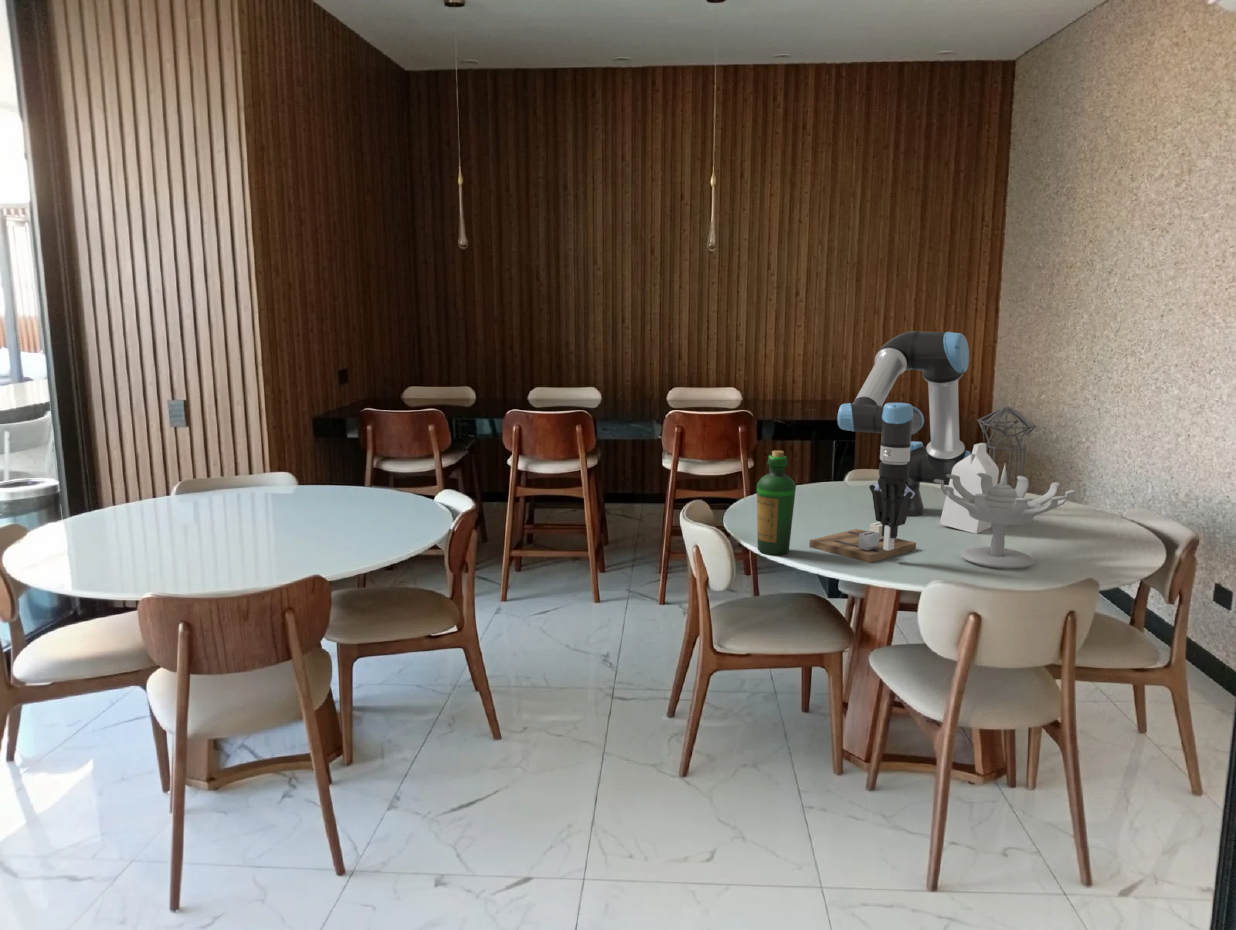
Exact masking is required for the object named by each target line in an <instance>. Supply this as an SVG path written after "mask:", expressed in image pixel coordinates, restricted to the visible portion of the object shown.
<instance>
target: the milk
mask: <svg viewBox="0 0 1236 930" xmlns="http://www.w3.org/2000/svg"><path fill="white" fill-rule="evenodd" d="M985 443H986V442H985ZM985 443H984V442H979V443H976V444H974V445H973V448H972V450H971V451H972V452H971V455H969V456H968V457H966V458H964V459H963V460H961V461H960V462H958V463H957V464H955V465H954V467H953V469H952V473H951V474H952V475H956V476H959V477H960V482H961V485H962V486H963V487H964V488H965V489H966V490H967V491H968V492H970V493H971V494H973V495H976V494H982V488H981V477H979V476H978V475H977V474H978V473H984V474H988V475H989V476H991V477H992V482H993V487H994V486H995V485H996V484H998V481H999V475H1000V471H999V467H998V465H997V464H996V462H995V463H994V461H993V458H992V457H991V455H990V456H989V453H988V451H987V452H986V447H987V446H986V445H987V444H985ZM952 482H953V479H951V478H950V481H949V486H948V485H947V487H952V488H953V489H954V494H955V495H956V496H958V497H960V498H963V497H962V496H961V495H960V494H959V493H958V492H957V490H956V489H955V488H954V486H953V483H952ZM939 525H942V526H945V527H950V528H954V529H958V530H959V531H964V532H967V533H973V534H979V533H982V532H983V531H986V530H988V529H990V528H992V526H991V523H988V522H983V521H980V520H977V519H974V518H972V517H971V516H970V515H969V511H968V510H967V509H966V508H964V507H963V506H961V505H959V504H957V503H956V502H954V501H953V500H951V499H950V498H949V497H948V496H947V495H945V499H944V502H943V507H942V512H941V517H940V520H939Z"/></svg>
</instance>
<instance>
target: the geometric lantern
mask: <svg viewBox="0 0 1236 930" xmlns="http://www.w3.org/2000/svg"><path fill="white" fill-rule="evenodd" d="M1004 415H1005V417H1004V421H1000V420H1001V418H1003V416H1004ZM1008 416H1009V419H1010V420H1008ZM1012 416H1013V417H1012ZM987 418H988V419H987ZM1013 418H1014V419H1015V420H1014V419H1013ZM976 421H977V423H978V424H979V426H980V428H981V432H982V434H983V435H982V438H983V439H982V441H983V443H985V444H986V452H987V453H988V455H989V456H990V457H991V453H992V450H993V457H992V460H993V461H994V463H995V464H996V462H995V461H996V449H997V450H1010V457H1009V464H1008V473H1007V484H1008V485H1010V478H1011V477H1010V476H1011V470H1012V469H1011V468H1012V461H1013V452H1014V450H1015V456H1014V457H1015V459H1014V476H1013V477H1014V478H1013V481H1014V482H1013V489H1014V490H1015V488H1016V485H1017V467H1018V476H1023V477H1025V467H1026V466H1025V464H1026V463H1025V461H1026V447H1025V445H1024V444H1025V440H1026V436H1030V433H1031V432H1032V431H1034V429H1035V428H1038V425H1035V424H1034V423H1033V422H1032V421H1030V420H1029V419H1028V418H1026V417H1024V416H1023V415H1022V414H1021V413H1019V412H1018V411H1017V410H1015V409H1014V408H1013V407H1009V406H1004V407H1002V408H1000V409H997V410H996V411H994V412H991V413H989V414H987V415H985V416H982V417H980V418H978V419H976ZM993 423H994V424H993ZM1008 423H1009V424H1011V425H1009V426H1007V424H1008ZM1017 423H1021V426H1016V424H1017ZM1002 424H1004V425H1002ZM1000 427H1001V428H1000ZM989 428H991V429H993V432H992V433H991V435H990V437H989V436H988V435H989V434H988V433H987V432H988V430H989ZM1002 428H1003V429H1002ZM1009 429H1014V434H1008V431H1007V430H1009ZM1018 429H1022V430H1020V431H1019V432H1017V431H1016V430H1018ZM997 431H998V432H1001V433H1002V434H1003V435H1002V437H1001V438H1000V439H999V440H998V441H997V442H990V441H991V440H992V438H993V436H994V434H995V433H996V432H997ZM1022 433H1023V434H1022ZM1020 434H1021V436H1020V438H1019V439H1018V435H1020ZM985 437H986V440H987V442H986V441H985ZM1005 437H1007V439H1008V441H1010V443H1003V442H1002V443H1001V441H1002V440H1003V439H1004V438H1005ZM1010 437H1015V439H1016V442H1017V443H1013V442H1012V441H1011V439H1010ZM1022 439H1023V442H1022V445H1021V444H1020V443H1021V441H1022ZM992 445H994V446H992ZM997 445H1004V446H1005V445H1008V446H1011V448H1010V447H1009V448H1008V447H996V446H997ZM1014 447H1015V448H1014ZM1018 447H1019V448H1018ZM988 451H989V452H988ZM1018 451H1019V452H1018ZM1022 451H1023V452H1022ZM1018 453H1019V454H1018ZM1018 459H1019V460H1018ZM1017 465H1018V466H1017ZM1021 467H1022V468H1021ZM1021 469H1022V470H1021ZM1021 473H1022V475H1021Z"/></svg>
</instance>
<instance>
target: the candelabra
mask: <svg viewBox="0 0 1236 930" xmlns="http://www.w3.org/2000/svg"><path fill="white" fill-rule="evenodd" d="M1006 469H1007V467H1006V464H1004V466H1003V469H1002V472H1001V473H1002V474H1001V476H1000V480H999V483H997V484H996V485H995V486H994V487H993V482H992V477H991V476H989V475H988V474H984V473H978V474H977V475H978V476H979V477H981V488H982V494H976V495H973V494H971V493H970V492H968V491H967V490H966V489H965V488H964V487H963V486H962V485H961V482H960V477H959V476H956V475H952V474H948V475H946V477H948V478H951V479H953V482H952V483H953V486H954V488H955V489H956V490H957V492H958V493H959V494H960V495H961V496H962V497H963V498H960V497H958V496H956V495H955V494H954V489H953V488H952V487H948V486H946V485H944V481H943V480H939V479H935V480H933V481H934V482H936V483H938V484H937V485H940V490H941V491H942V494H944V495H945V496H946V495H947V496H948V497H949V498H950V499H951V500H953V501H954V502H956V503H957V504H959V505H961V506H963V507H964V508H966V509H967V510H968V511H969V515H970V516H971V517H972V518H974V519H977V520H980V521H983V522H988V523H991V530H992V538H991V542H990V546H982V545H981V546H971V547H966V548H964V549H962V550H960V552H959V556H960V557H961V558H962V559H964V560H965V561H967V562H969V563H972V564H976V565H979V566H984V567H987V568H988V567H989V568H995V569H996V568H997V569H1011V570H1012V569H1023V568H1029V567H1031V566H1033V565H1034V564H1035V559H1034V557H1032V556H1031V555H1029V554H1026V553H1025V552H1023V551H1018V550H1015V549H1012V548H1011V549H1010V548H1005V544H1006V543H1005V534H1006V531H1007V529H1008V526H1020V525H1026V524H1029V523H1031V522H1032V521H1033V519H1034V517H1036V516H1038V515H1040V514H1044V513H1046V512H1047V513H1048V512H1049V511H1051V510H1054V509H1056V508H1058V507H1060V506H1062V505H1065V503H1066V502H1067V501H1068V496H1071V495H1074V494H1076V493H1077V490H1075V489H1070V490H1066V491H1065V493H1064V495H1059V496H1058V495H1057V493H1058V488H1060V486H1061V483H1059V482H1057V481H1056V482H1055V481H1054V482H1052V483H1051V484H1050V486H1049V490H1047V492H1046V493H1045V494H1042V496H1040V497H1038V498H1035V499H1034V498H1032V497H1025V496H1026V494H1027V492H1028V490H1029V486H1030V485H1029V482H1030V481H1029V479H1028V478H1027V477H1026V476H1024V477H1023V476H1022V475H1020V476H1019V475H1016V480H1017V481H1016V488H1015V490H1014V487H1012V486H1011V485H1010V484H1009V485H1008V484H1007V480H1008V476H1007V470H1006ZM1056 495H1057V496H1056ZM1049 501H1050V502H1049ZM1048 502H1049V504H1047V503H1048Z"/></svg>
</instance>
